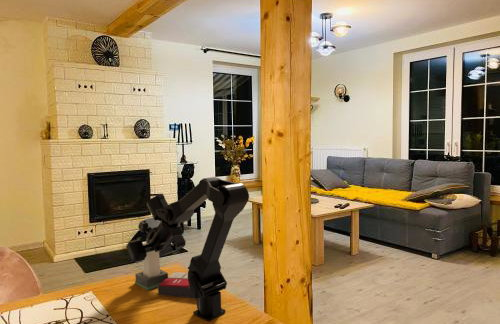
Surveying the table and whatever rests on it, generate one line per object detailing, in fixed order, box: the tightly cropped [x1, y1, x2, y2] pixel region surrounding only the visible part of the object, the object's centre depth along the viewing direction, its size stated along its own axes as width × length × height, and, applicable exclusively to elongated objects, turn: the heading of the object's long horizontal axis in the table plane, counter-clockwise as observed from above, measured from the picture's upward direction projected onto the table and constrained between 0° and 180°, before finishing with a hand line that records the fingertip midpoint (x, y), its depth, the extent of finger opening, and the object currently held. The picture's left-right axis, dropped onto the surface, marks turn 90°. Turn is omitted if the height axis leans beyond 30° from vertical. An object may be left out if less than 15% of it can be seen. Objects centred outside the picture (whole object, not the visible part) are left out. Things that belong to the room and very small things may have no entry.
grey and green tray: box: [134, 269, 169, 291], centre depth 123 cm, size 8×8×3 cm
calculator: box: [157, 271, 213, 300], centre depth 117 cm, size 11×4×15 cm
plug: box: [141, 238, 161, 278], centre depth 122 cm, size 4×4×14 cm
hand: (148, 258), depth 123 cm, fingers open, 9 cm apart
